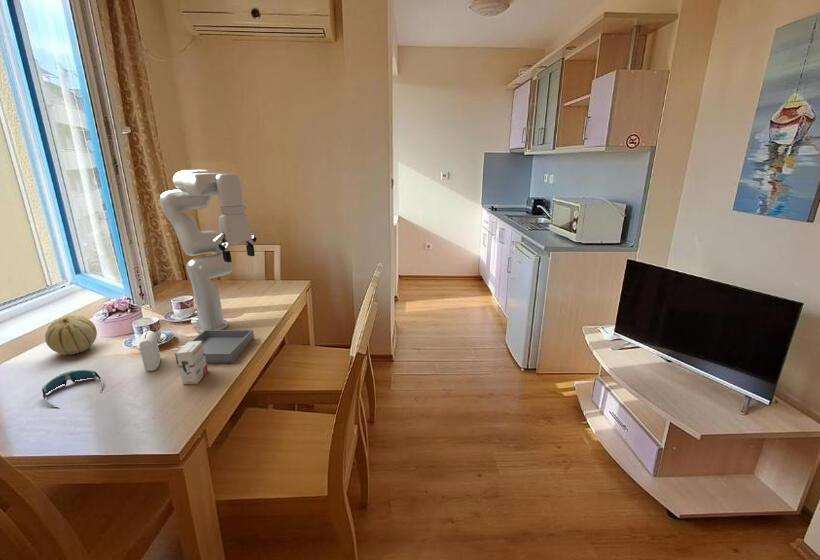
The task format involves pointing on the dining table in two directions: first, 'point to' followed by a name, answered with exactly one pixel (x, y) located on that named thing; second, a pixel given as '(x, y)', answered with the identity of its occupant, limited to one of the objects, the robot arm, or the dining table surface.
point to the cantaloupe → (70, 334)
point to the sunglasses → (66, 376)
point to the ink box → (192, 362)
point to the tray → (223, 344)
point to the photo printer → (149, 351)
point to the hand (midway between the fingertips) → (239, 258)
